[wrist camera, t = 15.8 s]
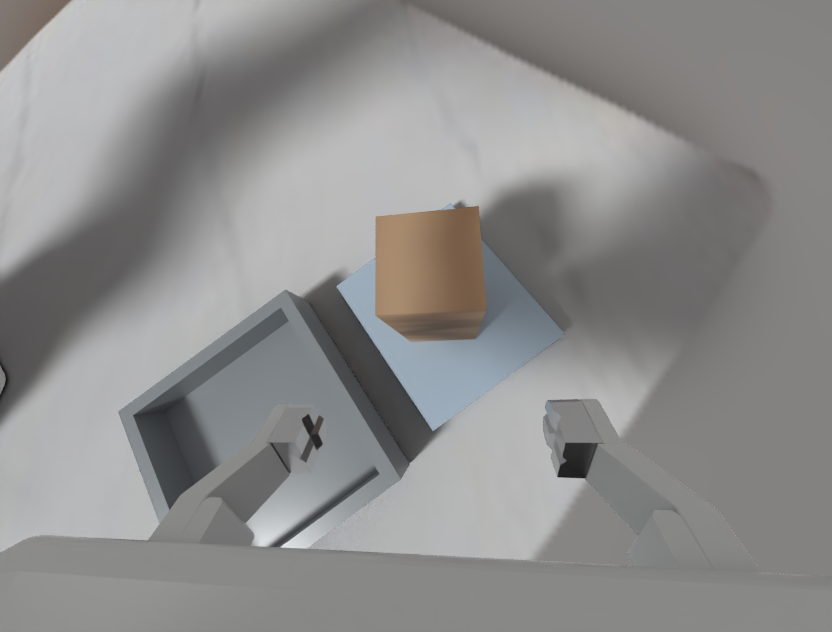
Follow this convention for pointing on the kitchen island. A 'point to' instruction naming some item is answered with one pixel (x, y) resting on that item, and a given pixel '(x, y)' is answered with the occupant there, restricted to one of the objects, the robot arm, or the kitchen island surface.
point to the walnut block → (430, 274)
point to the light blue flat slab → (458, 342)
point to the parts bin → (246, 414)
